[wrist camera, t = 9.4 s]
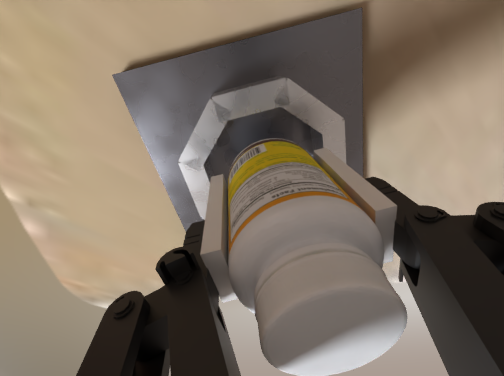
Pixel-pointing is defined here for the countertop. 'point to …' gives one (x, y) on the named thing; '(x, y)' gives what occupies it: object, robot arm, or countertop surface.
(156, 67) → the collar
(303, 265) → the supplement bottle
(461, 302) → the robot arm
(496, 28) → the countertop surface
